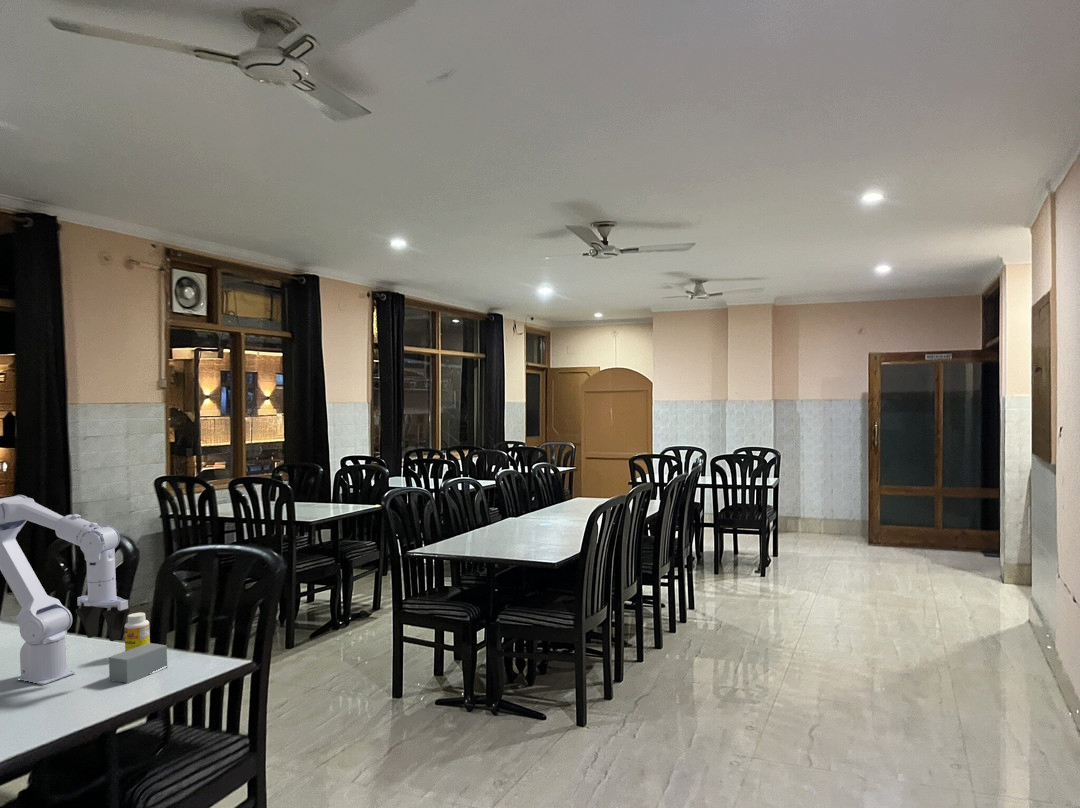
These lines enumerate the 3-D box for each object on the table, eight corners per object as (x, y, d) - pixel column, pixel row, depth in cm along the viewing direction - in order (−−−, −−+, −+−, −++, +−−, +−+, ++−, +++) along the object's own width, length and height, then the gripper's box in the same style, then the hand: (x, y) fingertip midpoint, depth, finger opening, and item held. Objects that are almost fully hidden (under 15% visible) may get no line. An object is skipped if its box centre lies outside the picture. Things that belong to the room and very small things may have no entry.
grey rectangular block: (109, 680, 177) (108, 657, 177) (149, 665, 187) (149, 642, 187) (127, 683, 174) (126, 659, 174) (167, 667, 184) (166, 645, 184)
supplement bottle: (120, 656, 194) (119, 616, 194) (141, 649, 199) (140, 610, 199) (134, 659, 191) (132, 618, 191) (155, 652, 196) (153, 612, 196)
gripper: (64, 581, 177) (66, 640, 177) (107, 586, 171) (109, 646, 171) (92, 574, 184) (94, 631, 184) (135, 578, 178) (137, 637, 178)
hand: (103, 638), depth 178 cm, fingers open, 7 cm apart
